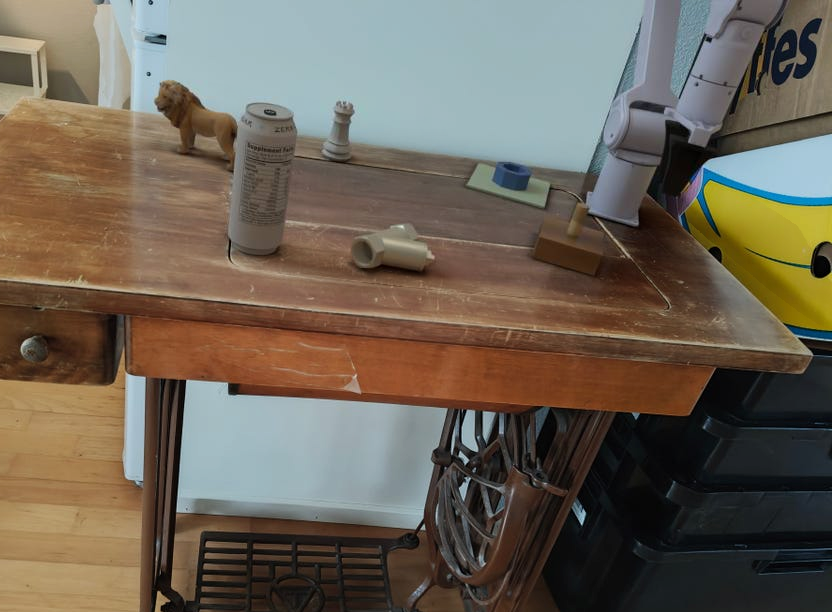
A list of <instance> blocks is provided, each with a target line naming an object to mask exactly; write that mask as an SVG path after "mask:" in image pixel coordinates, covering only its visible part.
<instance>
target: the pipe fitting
mask: <svg viewBox="0 0 832 612" xmlns="http://www.w3.org/2000/svg"><path fill="white" fill-rule="evenodd" d="M419 240H420V236H419V234H418V232H417V230H416V228H415V227H414V226H413V225H412V223H409V222H408V223H397V224H393V225H390V226H389V228H386V229H383V230H381V231H377V232H374V233H371V234H362V235H359V236H356V237H354V238H353V240H352V244H351V247H350V255H351V258H352V259H353V261H354V263H355V264H356V265H357V266H358V267H359V268H360V269H372V268H376V267H378V266H380V265H384V266H390V267H393V268H400V269H405V270H411V271H417V272H423V270H424V268H425V267H426V266H427V267H429V265H430V264H434V262H435V255H434V254H432V253H433V252H432V250H429V247H428V243H426V242H422V241H419Z"/></svg>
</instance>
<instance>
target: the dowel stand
mask: <svg viewBox="0 0 832 612" xmlns="http://www.w3.org/2000/svg"><path fill="white" fill-rule="evenodd" d="M589 208H590V206H588V205H587V204H586V203H584V202H577V203H576V206H575V209H574V211H573V214H572V216H571V219H570V222H569V221H565V220H562V219H559V218H555V217H551V216H548V215H544V216H543V218H542V221H541V223H540V226H539V230H538V232H537V235H536V240H535V244H534V247H533V252H532V256H531V258H533V259H536V260H539V261H542V262H545V263H548V264H551V265H552V264H553V265H555V266H559V267H563V268H566V269H569V270H571V271H572V270H573V271H575V272H579V273H583V274H586V275H589V276H592V277H593V276H595V275H596V272H597V270H598V268H599V266H600V263H601V261H602V258H603V257H604V232H603V231H601V230H598V229H597V230H596V229H593V228H590V227H587V226H584V223H585V221H586V218H587V217H588V211H589Z"/></svg>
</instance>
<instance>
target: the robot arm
mask: <svg viewBox="0 0 832 612" xmlns="http://www.w3.org/2000/svg"><path fill="white" fill-rule="evenodd" d="M789 2H790V0H711V2H710V7H709V16H708V19H707V21H706V24H705V27H704V34H705V35H706V36H705V37H704V40H703V43H702V45H701V47H700V50H699V53H698V55H697V57H696V60H695V62H694V65H693V66H692V69H691V71H690V74H689V76H688V78H687V80H686V84H685V85H684V88H683V91H682V93H681V95H680V97H678V96H677V94H675V92H674V91H673V89H672V88H671V84H672V76H673V70H674V69H673V68H674V60H675V53H676V45H677V38H678V30H679V23H680V15H681V7H682V0H644V1H643V9H642V16H641V24H640V32H639V39H638V47H637V54H636V62H635V70H634V75H633V76H634V77H633V84H632V87H631V88H629V89H627V90H625V91H624V92H622V93H620V94H619V95H618V96H616V98H615V99H614V100H613V101H612V103H611V104H610V109H609V114H608V117H607V118H606V119H607V120H606V122H605V125H604V129H603V138H602V139H603V143H604V146H605V148H606V149H607V150H608V153H607V155H606V158H605V161H604V163H603V165H602V167H601V168H602V169H601V171H600V173H599V176H598V178H597V181H596V183H595V186H594V189H593V191H587V193H586V198H585V204H587V205H588V206H590V208H589V211H588V213H587V215H592V216H596V217H600V218H602V219H606V220H610V221H613V222H617V223H620V224H623V225H627V226H630V227H635V228H638V227H639V225H640V222H639V209H640V207H641V205H642V202H643V201H644V197H645V196H646V193H647V191H648V188H649V186H650V184H651V181H652V179H653V177H654V175H655V172H656V170H657V167H658V166H659V167H658V177H661V178H663V179H662V184H661V193H662V194H664V195H668V196H671V197H675V198H678V197H679V196H680V195H681V194H682V192H683V191H684V190H685V188H686V187H687V185H688V184H689V183H690V181H691V180H692V178H694V176H695V175H696V174H697V172H698V171H699V170H700V169H701V168H702V167H703V166H704V165H705V164H706V163H707V162H708V161H710V160H711V159H712V158H713V157H714V156H715V155H716V154H717V152H718V150H717V148H716V147H714V146H709V145H708V142H709V140H710V138H711V137H712V135H713V134H714V133H716V132H718V131H721V129H722V126H723V120H724V118H725V116H726V114H727V112H728V109H729V107H730V105H731V103H732V101H733V98H734V96H735V94H736V92H737V90H738V87H739V85H740V83H741V81H742V79H743V77H744V75H745V73H746V70H747V68H748V66H749V64H750V62H751V60H752V58H753V55H754V53H755V51H756V49H757V47H758V44H759V42H760V40H761V38H762V36H763V33H764V31H767V30H769V29H771V28H772V27H774V26H775V25H776V24H777V23H778V22H779V21H780V19H781V18H782V16H783V15H784V13H785V11H786V9H787V7H788V4H789Z"/></svg>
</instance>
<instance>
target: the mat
mask: <svg viewBox="0 0 832 612" xmlns="http://www.w3.org/2000/svg"><path fill="white" fill-rule="evenodd" d="M495 169H496V166H491V165H488V164H485V163H481V162H478V163H477V165H476V167H475V169H474V171H473V172H472V174H471V177H470V178H469V180H468V182H467V183H466V185H465V186H466V188H468V189H472V190H476V191H479V192H483V193H486V194H488V195H489V194H490V195H493V196H496V197H500V198H503V199H507V200H511V201H514V202H517V203H521V204H525V205H528V206H532V207H535V208H539V209H542V210H544V209H545V207H546V203H547V198H548V194H549V191H550V186H551V182H549V181H546V180H541V179H539V178H535V177H531V176H530V179H529V182H528V185H527V188H526V190H515V191H514V190H511V189H507V188H503V187H500V186H499V185H497V184H496V183H495V182H493V181H492V179H493V176H494V172H495Z"/></svg>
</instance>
